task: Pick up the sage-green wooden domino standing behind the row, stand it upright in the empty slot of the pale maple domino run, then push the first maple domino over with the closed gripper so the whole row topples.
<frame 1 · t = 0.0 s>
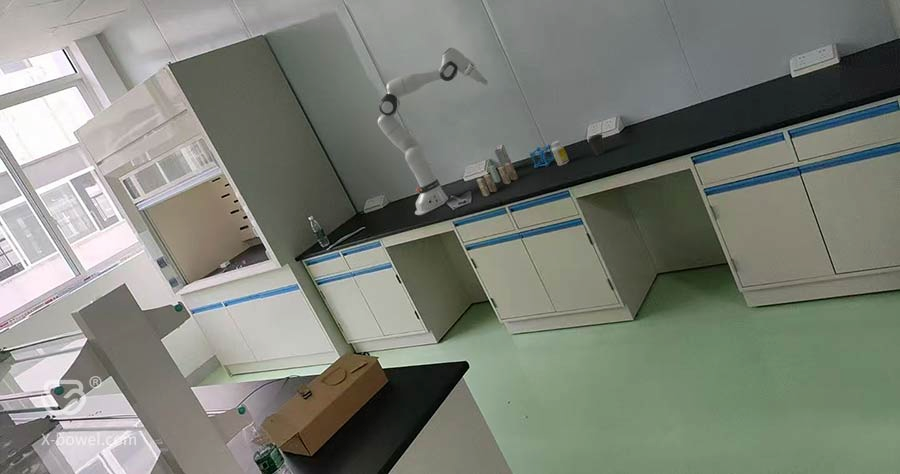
hand: (487, 83, 370), 54 cm above the countertop, tool tilted 30°, fingers open, 8 cm apart
candy bar box: (509, 171, 391), on the countertop
coffee cup: (600, 153, 340), on the countertop
domino 1: (486, 195, 363), on the countertop
sage domino: (497, 181, 380), on the countertop
domino 2: (493, 190, 364), on the countertop
domino 4: (507, 182, 367), on the countertop
supplement bottle: (563, 163, 354), on the countertop
domino 5: (514, 179, 369), on the countertop
molecular structure: (545, 164, 369), on the countertop
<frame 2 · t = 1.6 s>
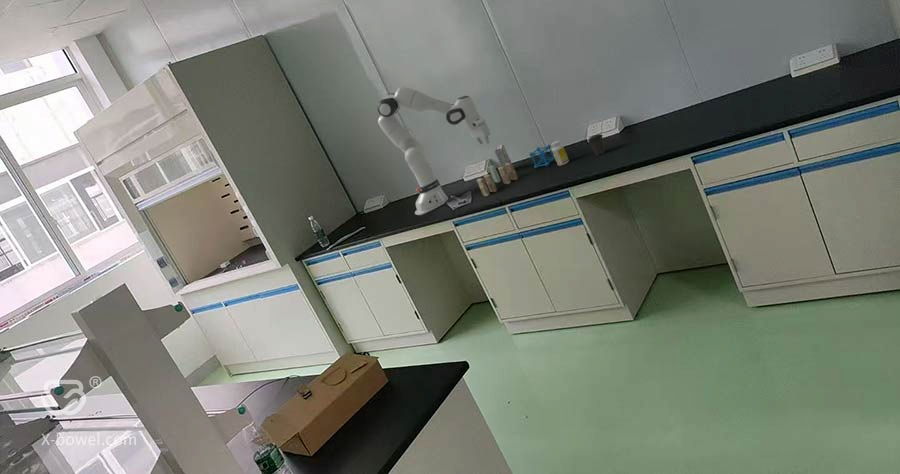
hand: (484, 143, 373), 24 cm above the countertop, tool pointing down, fingers open, 8 cm apart
nothing on the countertop moved.
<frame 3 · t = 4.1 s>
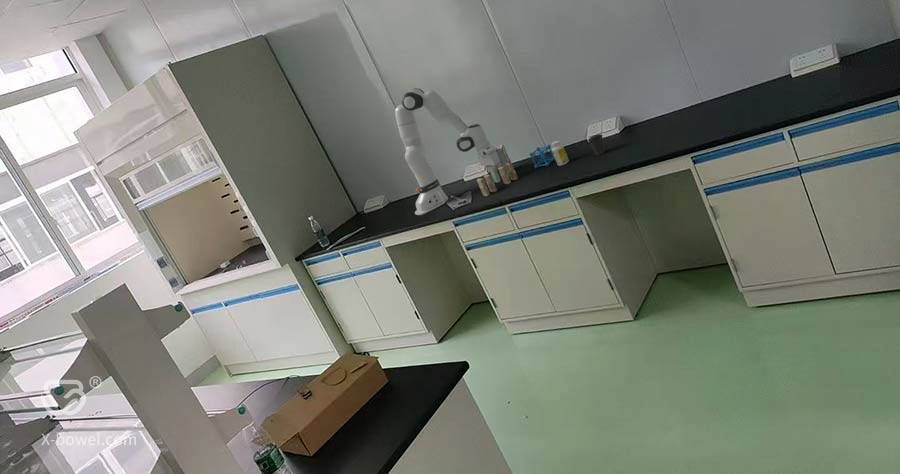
hand: (493, 171, 378), 7 cm above the countertop, tool pointing down, fingers closed on sage domino, 5 cm apart
sage domino: (497, 181, 380), on the countertop, touching gripper
everything else where it was.
when the fingers open (8 cm above the countertop, at t = 10.0 s): sage domino stays where it is, on the countertop.
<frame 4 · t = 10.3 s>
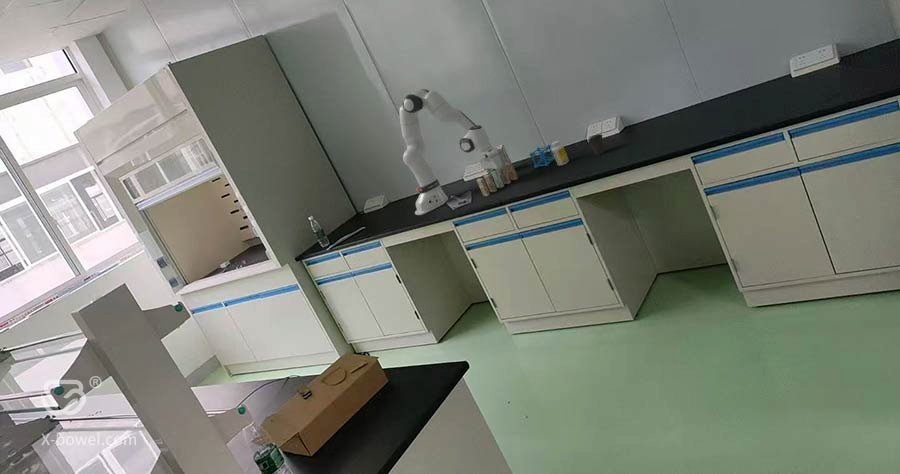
hand: (495, 175, 364), 8 cm above the countertop, tool pointing down, fingers open, 8 cm apart
sage domino: (500, 186, 366), on the countertop
everything else where it was.
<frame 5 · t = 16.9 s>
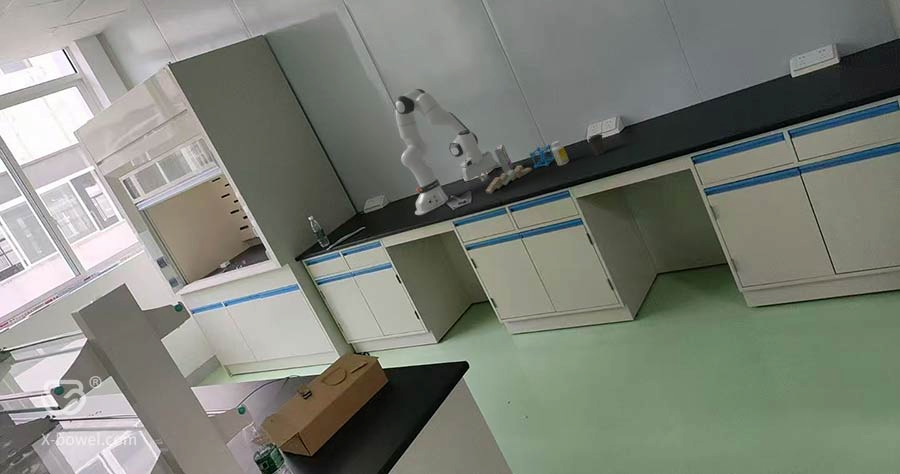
hand: (484, 180, 361), 8 cm above the countertop, tool pointing down, fingers closed
domino 1: (488, 192, 363), point 1 cm above the countertop, tilted 66°
sage domino: (502, 184, 366), point 1 cm above the countertop, tilted 68°, touching domino 2, domino 4
domino 2: (495, 187, 364), point 1 cm above the countertop, tilted 67°, touching sage domino
domino 4: (510, 179, 367), point 1 cm above the countertop, tilted 68°, touching sage domino
domino 5: (516, 177, 369), on the countertop, tilted 90°
everything else where it was.
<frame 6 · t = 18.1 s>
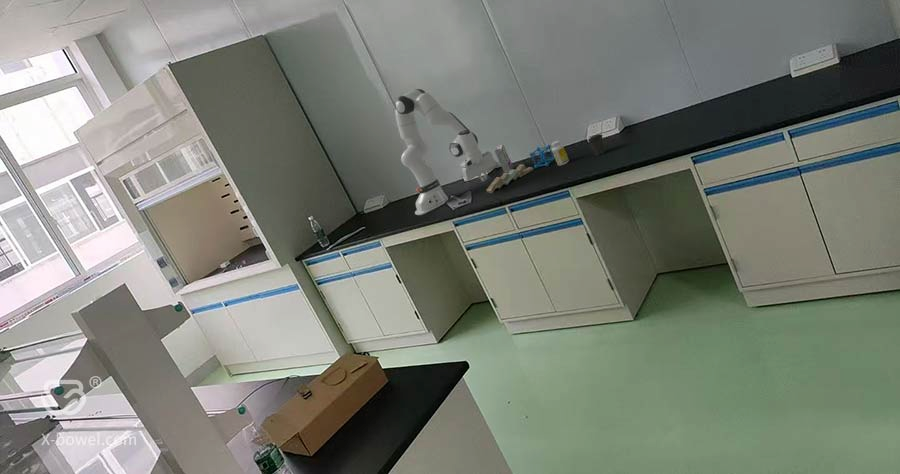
hand: (484, 180, 361), 8 cm above the countertop, tool pointing down, fingers closed
domino 1: (489, 191, 363), point 1 cm above the countertop, tilted 68°, touching domino 2
domino 2: (496, 187, 365), point 1 cm above the countertop, tilted 68°, touching domino 1, sage domino
domino 4: (512, 178, 368), point 1 cm above the countertop, tilted 69°, touching sage domino
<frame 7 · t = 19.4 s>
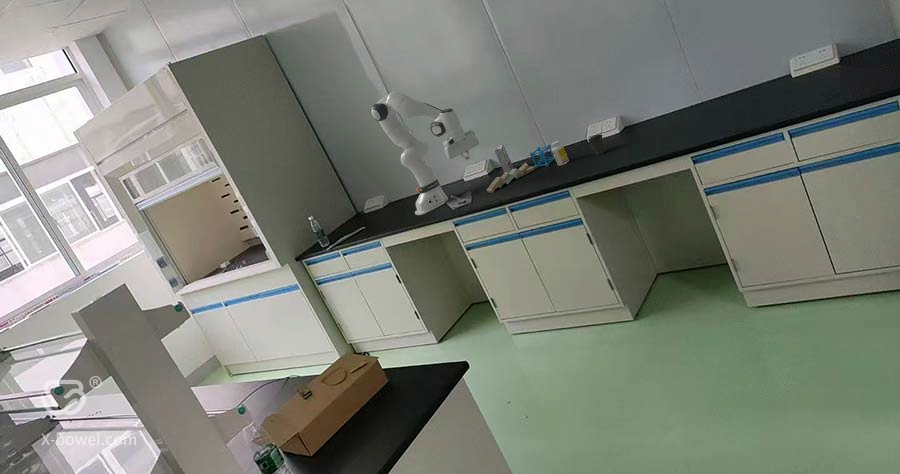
hand: (467, 159, 357), 23 cm above the countertop, tool pointing down, fingers closed
sage domino: (504, 182, 367), point 1 cm above the countertop, tilted 69°, touching domino 2, domino 4
domino 2: (497, 186, 365), point 1 cm above the countertop, tilted 69°, touching domino 1, sage domino
domino 4: (514, 177, 367), point 1 cm above the countertop, tilted 70°, touching domino 5, sage domino
domino 5: (519, 176, 369), on the countertop, tilted 90°, touching domino 4
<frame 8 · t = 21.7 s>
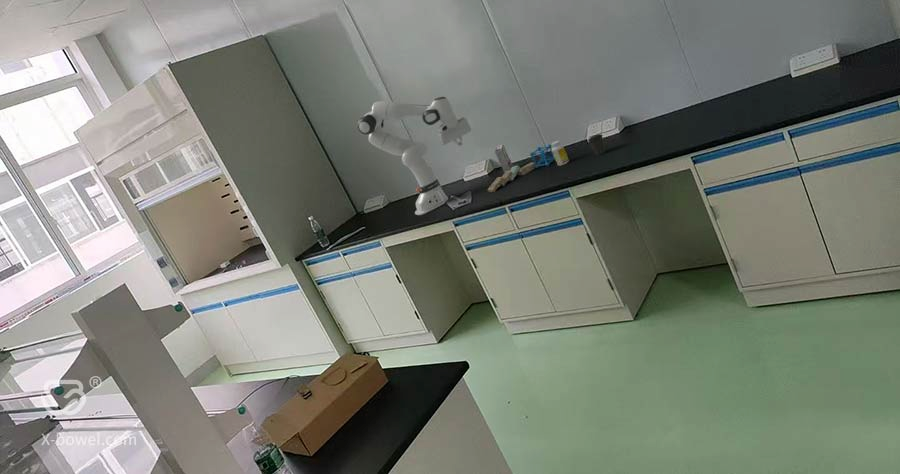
hand: (460, 145, 372), 29 cm above the countertop, tool pointing down, fingers closed
sage domino: (508, 179, 368), point 1 cm above the countertop, tilted 69°, touching domino 2
domino 2: (500, 185, 366), point 1 cm above the countertop, tilted 70°, touching domino 1, sage domino
domino 4: (519, 171, 370), point 2 cm above the countertop, tilted 90°
domino 5: (521, 174, 370), on the countertop, tilted 90°
at the end: domino 5 tilted 90°; sage domino tilted 69°; sage domino inside the target area (0.9 cm from its centre), point 1.1 cm above the countertop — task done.
